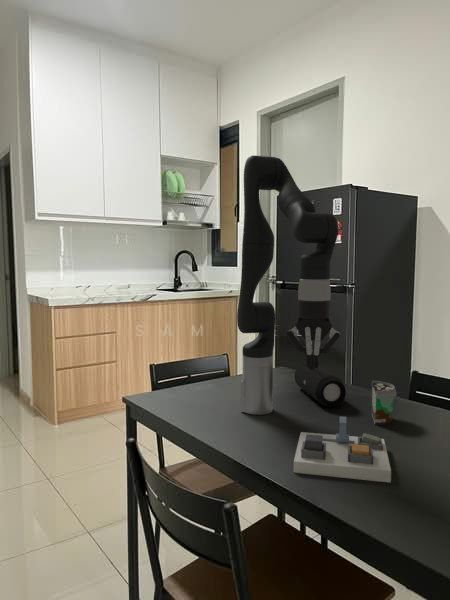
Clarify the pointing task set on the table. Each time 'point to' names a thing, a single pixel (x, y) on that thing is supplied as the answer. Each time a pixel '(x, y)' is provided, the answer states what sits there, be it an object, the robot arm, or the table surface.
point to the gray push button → (313, 442)
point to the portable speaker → (320, 385)
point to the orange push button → (360, 449)
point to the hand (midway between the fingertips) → (312, 369)
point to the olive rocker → (370, 439)
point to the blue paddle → (342, 431)
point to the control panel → (343, 459)
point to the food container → (382, 402)
